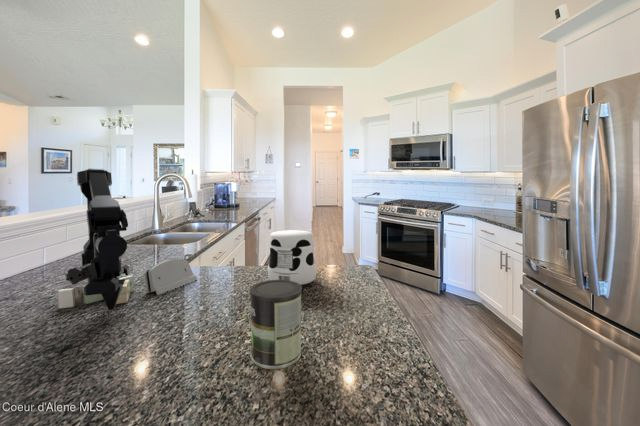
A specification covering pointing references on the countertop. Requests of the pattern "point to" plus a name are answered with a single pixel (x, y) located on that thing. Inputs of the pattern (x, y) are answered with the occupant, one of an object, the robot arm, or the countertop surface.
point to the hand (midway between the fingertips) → (111, 309)
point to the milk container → (292, 256)
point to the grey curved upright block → (168, 276)
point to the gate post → (78, 295)
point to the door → (99, 296)
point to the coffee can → (275, 323)
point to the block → (124, 293)
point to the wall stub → (66, 298)
